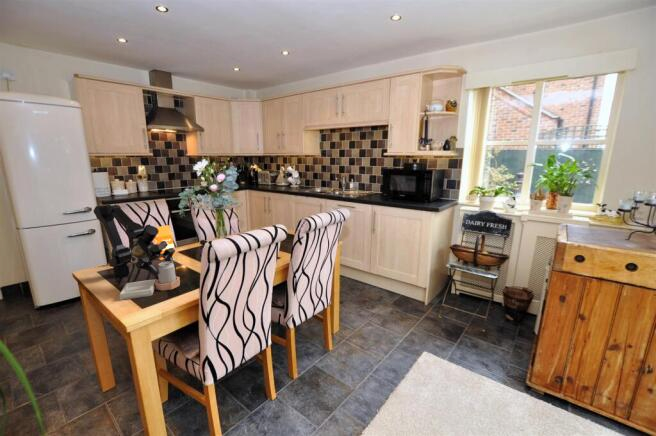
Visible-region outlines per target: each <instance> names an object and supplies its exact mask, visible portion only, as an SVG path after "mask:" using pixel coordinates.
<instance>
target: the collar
mask: <svg viewBox="0 0 656 436" xmlns="http://www.w3.org/2000/svg"><path fill="white" fill-rule="evenodd" d="M175 276H176V281H174V282H171V283H166V284H161V283H159V278H158V279H156V282H155V286H156V287H155V290H158V291H169V290H174V289H175V288H178V287H180V285H181V284H180V283H181V280H180V279H181V278H180V276H177V275H175Z"/></svg>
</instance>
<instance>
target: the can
mask: <svg viewBox="0 0 656 436" xmlns="http://www.w3.org/2000/svg"><path fill="white" fill-rule="evenodd" d="M174 266H175V263H174V264H172V262H170V261H162V262H159V263H158V266H157V269H156V270H157V271H158V273H159V274H158V275H157V276H158V277H157V278H158V279H159V283H161V284H166V283H171V282H174V281H176V276H177V275H176V270H175V268H176V267H174Z"/></svg>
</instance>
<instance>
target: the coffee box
mask: <svg viewBox="0 0 656 436" xmlns="http://www.w3.org/2000/svg"><path fill="white" fill-rule="evenodd" d="M138 239H139V238H137V239H130V238H129V237H128V242H129V249H130V252H131V255H132V258H131V263H132V264H136V263H137V261H138V260H139V258H142V257H145V256H146V254H145V255H143V251H142V249H141V248H140V247H139V246H135V243H136V241H137V240H138Z"/></svg>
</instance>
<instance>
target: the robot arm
mask: <svg viewBox="0 0 656 436" xmlns="http://www.w3.org/2000/svg"><path fill="white" fill-rule="evenodd" d="M93 214H94V215H95V217H96V219H97V220H98V221H100V222H101V223H102V224H103V227H104V229H105V232H106V234H107V237H108V240H109V242H110V246H111V249H112V250H111V253H110V256H111V259H110V261H109V262H108V264H109V267H112V268H113V273H114V276H113V278H114V279H117V278H124V277H128V276H130V274H131V265H129V263H130V264H131V263H132V255H131V251H130V246H129V247H128V246H125V245H124V242H123V241H122V238H121V235H120V233H119V230H118V228H117V225H116V222H115V220H117V222H119V224H120V225H121V226H122V227H123V228H124V229H125V234H126V236H127V237H128V239H129V238H130V239H137V238H139V239H138V240H137V241H136V243H135V246H139V247H140V248H141V249H142V251H143V255H145V254H146V256H145V257H142V258H139V260H138V261H137V263H135V267H136V268H137V270H140V269H141V270H145V271H147V272H150V273H153V274H155V275H157V276H158V274H159V273H158V270H157V269H156V267H155V266H154V265H153V261H156V260H160V259H159V258H162V257H163V258H164V259H163V260H164V262H166V261H170V262H172V264H174V267H175V263H174V259H173V257H172V256H173V254H174V253H175V252H176V249H175V248H174V249H173V248H169V249H166V246H168V244H167V242H166V241H162V242H160V244H154V239H155V237H156V236H157V234H158V233H159V230H158V228H156V227H157V226H153V225H151V224H146V225H145V226H143V225H141V224H140V223H138V222H135V221H134V220H133V219H132V218H131V217H129V215H128V214H127V213H126V212H125V211H124V210H123V209H122V207H121V206H120V205H118V204H113V205H111V204H110V203H109V204H101V205H95V207H94V209H93ZM163 249H166V250H165V251H164V253H162V254H161V252H162V251H163ZM175 268H176V267H175Z"/></svg>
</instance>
